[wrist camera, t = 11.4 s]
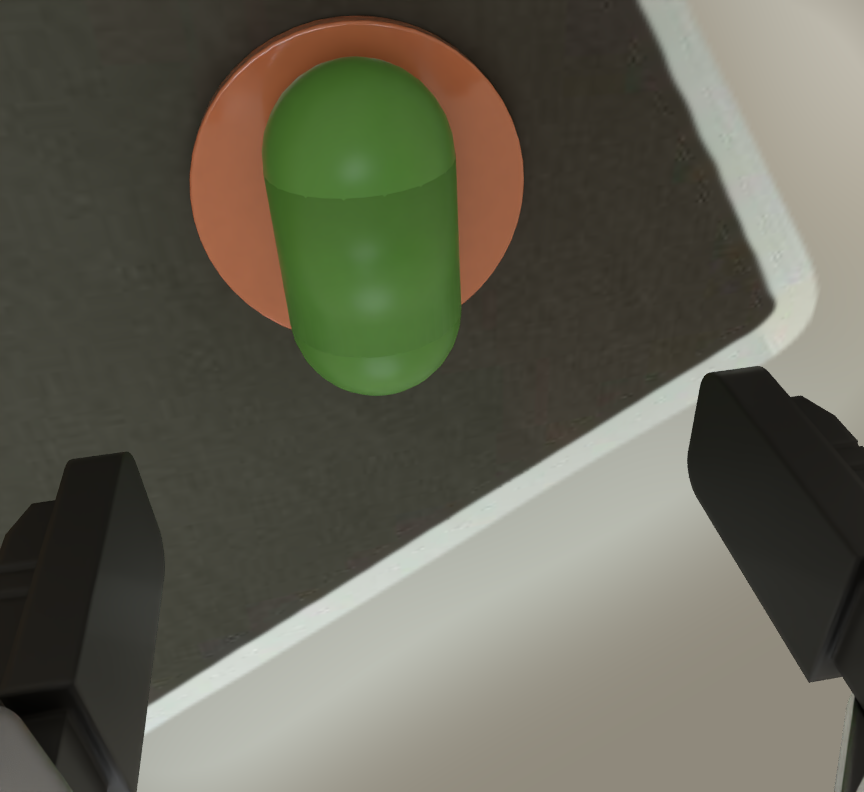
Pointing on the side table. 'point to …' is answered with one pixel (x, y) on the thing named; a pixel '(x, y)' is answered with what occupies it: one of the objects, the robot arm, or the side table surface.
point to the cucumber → (365, 223)
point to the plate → (247, 118)
